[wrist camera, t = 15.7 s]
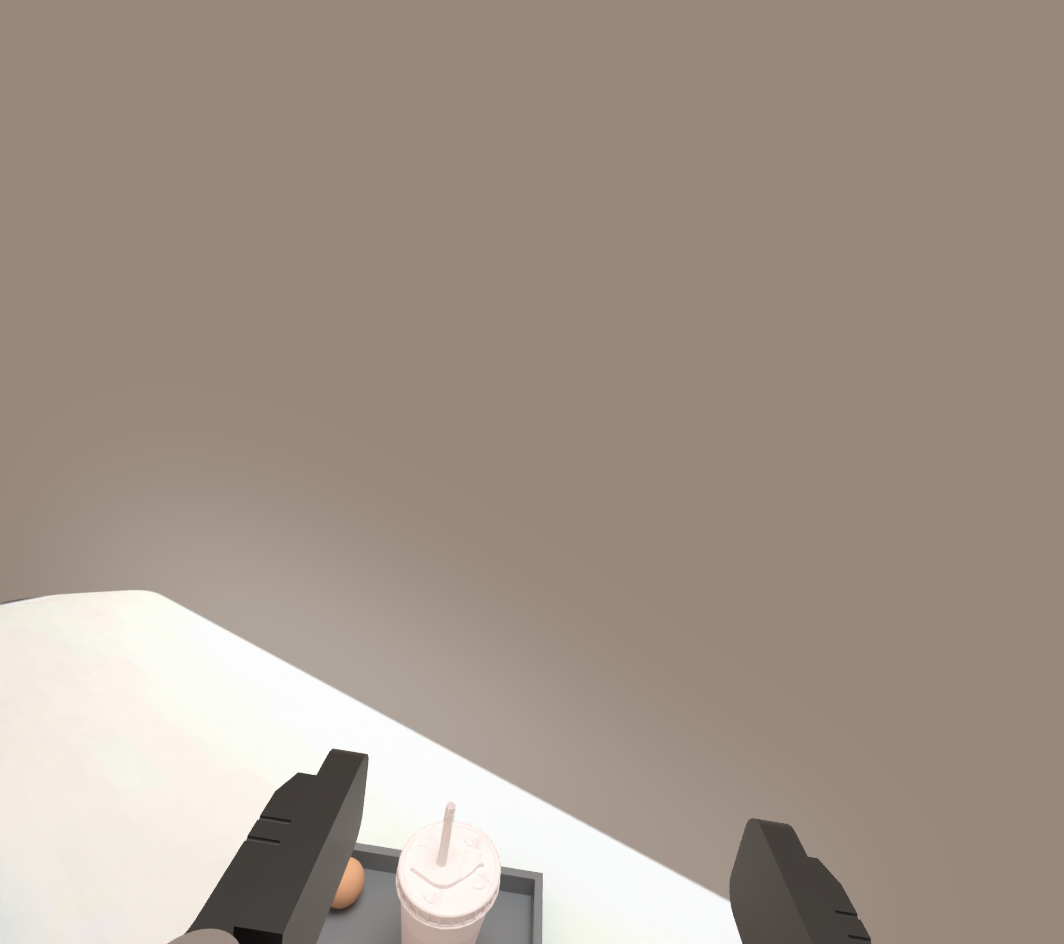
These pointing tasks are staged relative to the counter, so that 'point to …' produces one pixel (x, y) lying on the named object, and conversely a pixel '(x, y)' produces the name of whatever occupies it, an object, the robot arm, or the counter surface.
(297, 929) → the robot arm
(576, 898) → the counter surface
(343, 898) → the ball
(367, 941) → the tray
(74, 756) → the counter surface
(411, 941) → the smoothie
